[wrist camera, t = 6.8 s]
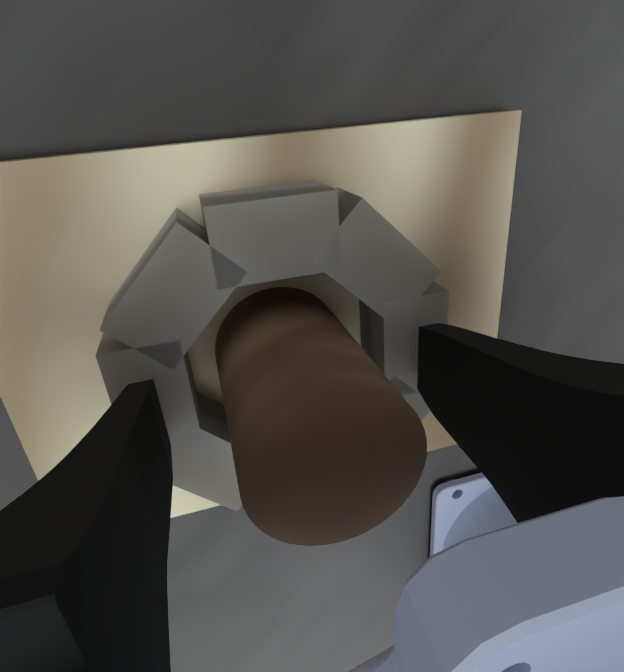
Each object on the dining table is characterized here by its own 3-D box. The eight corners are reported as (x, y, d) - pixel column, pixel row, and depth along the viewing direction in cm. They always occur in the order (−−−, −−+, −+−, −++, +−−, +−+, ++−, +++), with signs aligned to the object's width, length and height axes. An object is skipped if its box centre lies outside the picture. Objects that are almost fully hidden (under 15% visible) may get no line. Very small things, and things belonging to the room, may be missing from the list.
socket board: (504, 110, 14) (573, 108, 12) (475, 425, 20) (518, 469, 17) (-84, 168, 11) (-156, 183, 9) (71, 526, 16) (53, 597, 14)
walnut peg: (342, 283, 14) (439, 375, 9) (336, 394, 16) (415, 526, 11) (210, 290, 13) (235, 399, 8) (218, 408, 15) (242, 561, 10)
